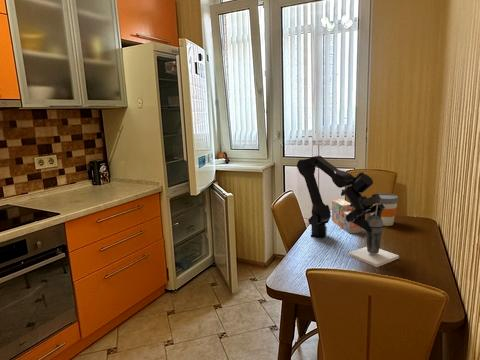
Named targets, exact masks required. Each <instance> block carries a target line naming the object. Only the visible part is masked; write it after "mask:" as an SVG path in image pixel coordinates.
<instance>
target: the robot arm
mask: <svg viewBox="0 0 480 360" xmlns="http://www.w3.org/2000/svg"><path fill="white" fill-rule="evenodd" d="M316 167H317V168H318V169H319V170H321V171H322V172H323V173H325V174H326V175H328V176H329V177H330V178H331V181H332V183H333V184H334V185H335V186H336V187H337V188H340V189H341V193H340V196H341V197H342V196H343V197H344V196H346V197H347V200H348V201H349V203H351V204H350V207H353V210H352V211H351V212H350V213H349V214H347V215H346V220H347V222H348V223H349V222H352V221H353V220H354V221H353V222H352V223H355V224H356V225H358V226H360V227H361V228H362V229H363V230H365V232H366V231H368V232H369V233H371V232H372V231H371V229H370V227H369V225H368V223H367V221H366V215H369V216H371V215H375V213H376V206H377V205H378V208H377V216H379V217H380V218H381V212H382V211H383V209H384V208H385V207H384V205H383V204H380V202H379V201H380V200H381V198H380V196H379V195H378V194H379V193H374V194H372V195H371V196H370V197H367V196H365V195H364V196H363V194H362V193H364V192H366V191H367V190H368V189H369V188H370V187H371V186H373V184H374V181H373V178H372V177H370V176H369V175H368V174H365V173H364V171H363V172H358V174H357V176H353V174H351V173H350V172H347V171H344V170H341V169H338V168H337V167H336V166H334V165H333V164H331V163H330V162H329V161H327V160H326V159H325V158H324V157H323V156H321V155H314V156H312V157H309V158H303V159H302V158H301V159H299V160H298V161H297V164H296V168H297V170H298V173H299V174H300V175H301V176H302V177H303V178H304V180H305V185H306V187H307V190H308V194H309V197H310V201H311V203H312V208H311V217H309V219H308V220H307V221H308V225H311V234H310V237H312V238H318V239H319V238H321V239H324V238H325V237H326V236H327V231H328V230H327V226H326V225H327V224H329V223H330V219H331V218H332V211H331V209H330V206H329V204H325V203H324V202H323V198H322V195H321V192H320V189H319V187H318V182H317V180H316V177H315V173H316ZM342 188H345V189H342ZM376 203H379V204H376ZM374 204H375V205H374ZM373 205H374V206H373ZM384 227H385V226H384ZM384 227H383V229H384Z"/></svg>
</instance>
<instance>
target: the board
mask: <svg viewBox="0 0 480 360" xmlns="http://www.w3.org/2000/svg"><path fill="white" fill-rule="evenodd" d="M347 256H349V257H351V258H354V259H356V260H359V261H361V262H364V263H366V264H368V265H371V266H373V267H375V268H379V267H381V266H384V265H386V264H388V263H391V262H394V261H396V260H398V259H400V256H399V255H398V254H395V253H392V252H390V251H386V250H384V249H382V248H379V253H376V254H374V253H369V252H368V251H367V246H365V247H362V248H358V249H355V250H352V251H350V252H348V255H347Z"/></svg>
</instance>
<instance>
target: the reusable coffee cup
mask: <svg viewBox="0 0 480 360" xmlns="http://www.w3.org/2000/svg"><path fill="white" fill-rule="evenodd" d="M377 194H378V195H379V196H380V198H381V200H380V201H379V202H380V204H383V205H384V207H385V208H384V209H383V211H382V212H381V219H382V221H383V225H384V227H389V226H393V225H394V220H395V217H396V215H397V210H398V203H399V196H398V195H396V194H393V193H377ZM376 204H379V203H376ZM374 205H375V204H374ZM374 205H373V206H374ZM373 206H372V207H373Z"/></svg>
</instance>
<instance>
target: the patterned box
mask: <svg viewBox="0 0 480 360" xmlns="http://www.w3.org/2000/svg"><path fill="white" fill-rule="evenodd" d="M350 204H351V203H350V201H349V202H348V201H347V200H345V199H342V198H341V199H331V221H332V223H334V224H335V225H337V226H338V227H340V228H341V229H342V230H344V231H346V232H347V234H353V233H354V234H355V233H361V231H362V230H361V227H360V226H358V225H356V224H355V223H352V222H353V221H354V220H353V221H352V222H349V223H348V222H347V220H346V215H347V214H349V213H350V212H351V211H352V210H354V207H350Z"/></svg>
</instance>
